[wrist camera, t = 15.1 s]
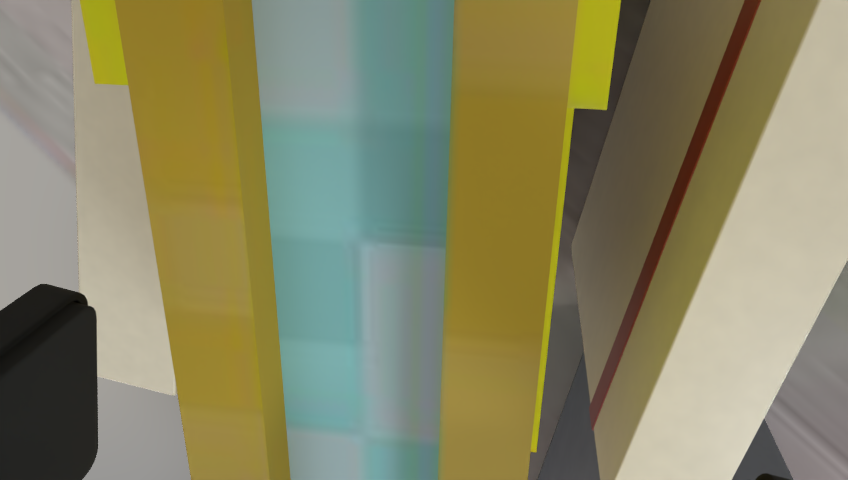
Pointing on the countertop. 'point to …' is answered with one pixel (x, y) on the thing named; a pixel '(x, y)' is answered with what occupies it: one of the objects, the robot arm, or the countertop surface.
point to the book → (356, 221)
